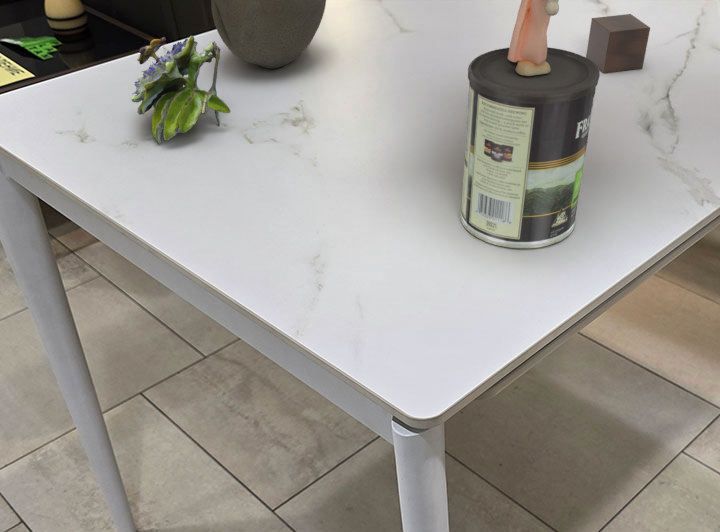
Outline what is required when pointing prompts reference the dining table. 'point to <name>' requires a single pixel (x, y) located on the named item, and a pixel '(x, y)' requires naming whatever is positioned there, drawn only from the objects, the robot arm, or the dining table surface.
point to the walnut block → (617, 43)
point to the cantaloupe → (267, 28)
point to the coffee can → (525, 148)
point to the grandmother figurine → (532, 36)
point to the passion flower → (176, 87)
